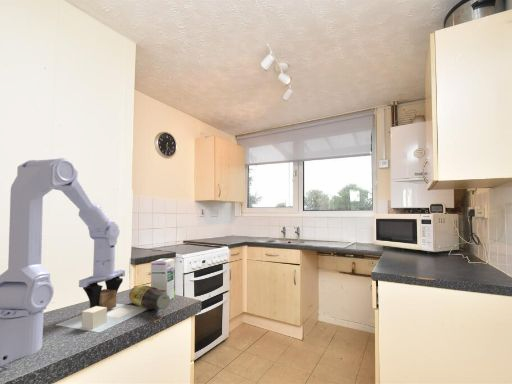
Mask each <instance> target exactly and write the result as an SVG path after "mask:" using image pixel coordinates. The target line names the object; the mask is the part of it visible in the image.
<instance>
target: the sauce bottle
mask: <svg viewBox="0 0 512 384" xmlns="http://www.w3.org/2000/svg"><path fill="white" fill-rule="evenodd" d="M128 295H129V296H128V298H129V301H130V302H131V303H132V305H133V304H134V306H141V307H144V308H147V309H148V310H155V309H159V310H165V309H166V308H168V307H169V305H170V303H171V302H170V297H169V296H168V295H167V294H162V291H160V290H158V289H157V288H154V287H151V285H150V286H149V285H145V284H137V285H135V286H133V288H131V290H130V291H129V294H128Z"/></svg>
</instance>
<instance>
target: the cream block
mask: <svg viewBox="0 0 512 384" xmlns="http://www.w3.org/2000/svg"><path fill="white" fill-rule="evenodd" d="M81 311H82V312H81V313H82V314H81V315H82V327H84V328H90V329H94V328H96V327H98V326H101V325H103V324H105V323H107V307H99V306H95V307H92V308H90V307H89V308H87V309H84V310H81Z"/></svg>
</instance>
